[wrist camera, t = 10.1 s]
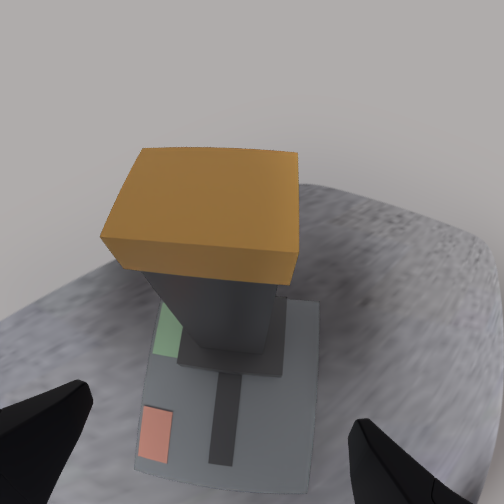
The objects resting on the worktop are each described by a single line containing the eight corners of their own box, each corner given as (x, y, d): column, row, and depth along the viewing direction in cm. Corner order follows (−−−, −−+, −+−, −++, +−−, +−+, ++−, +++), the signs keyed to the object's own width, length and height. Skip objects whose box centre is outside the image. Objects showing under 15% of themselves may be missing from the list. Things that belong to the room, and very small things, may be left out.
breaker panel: (300, 484, 12) (307, 494, 10) (146, 463, 12) (133, 470, 10) (312, 312, 17) (319, 300, 15) (172, 299, 18) (163, 286, 16)
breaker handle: (280, 377, 13) (351, 305, 4) (181, 366, 13) (52, 272, 4) (284, 304, 15) (331, 135, 6) (193, 295, 15) (126, 130, 6)
